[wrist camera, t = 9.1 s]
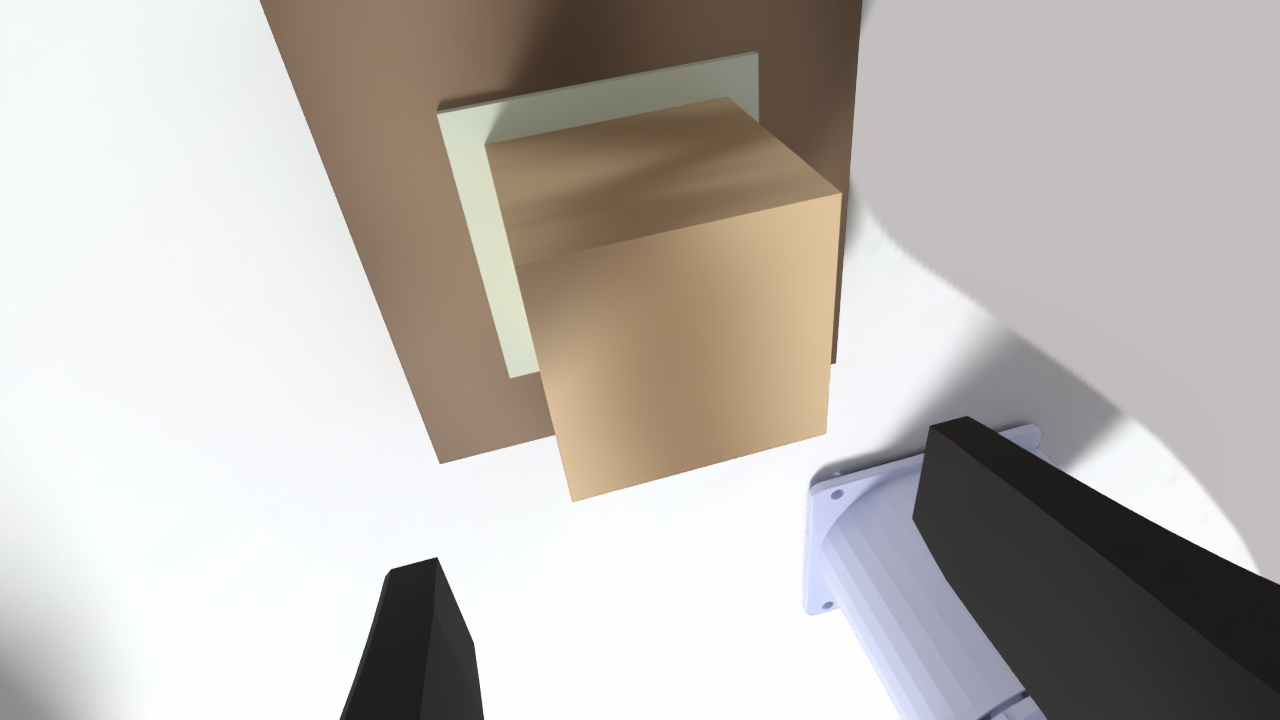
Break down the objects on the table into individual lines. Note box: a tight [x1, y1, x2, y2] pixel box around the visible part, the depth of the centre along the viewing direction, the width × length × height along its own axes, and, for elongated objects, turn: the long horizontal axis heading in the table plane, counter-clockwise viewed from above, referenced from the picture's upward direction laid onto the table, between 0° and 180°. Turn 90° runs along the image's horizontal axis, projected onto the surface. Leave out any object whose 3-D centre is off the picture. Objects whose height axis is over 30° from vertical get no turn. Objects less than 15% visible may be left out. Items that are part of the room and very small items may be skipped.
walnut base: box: [260, 0, 862, 464], centre depth 17 cm, size 11×11×3 cm
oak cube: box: [484, 97, 842, 502], centre depth 14 cm, size 5×5×5 cm
